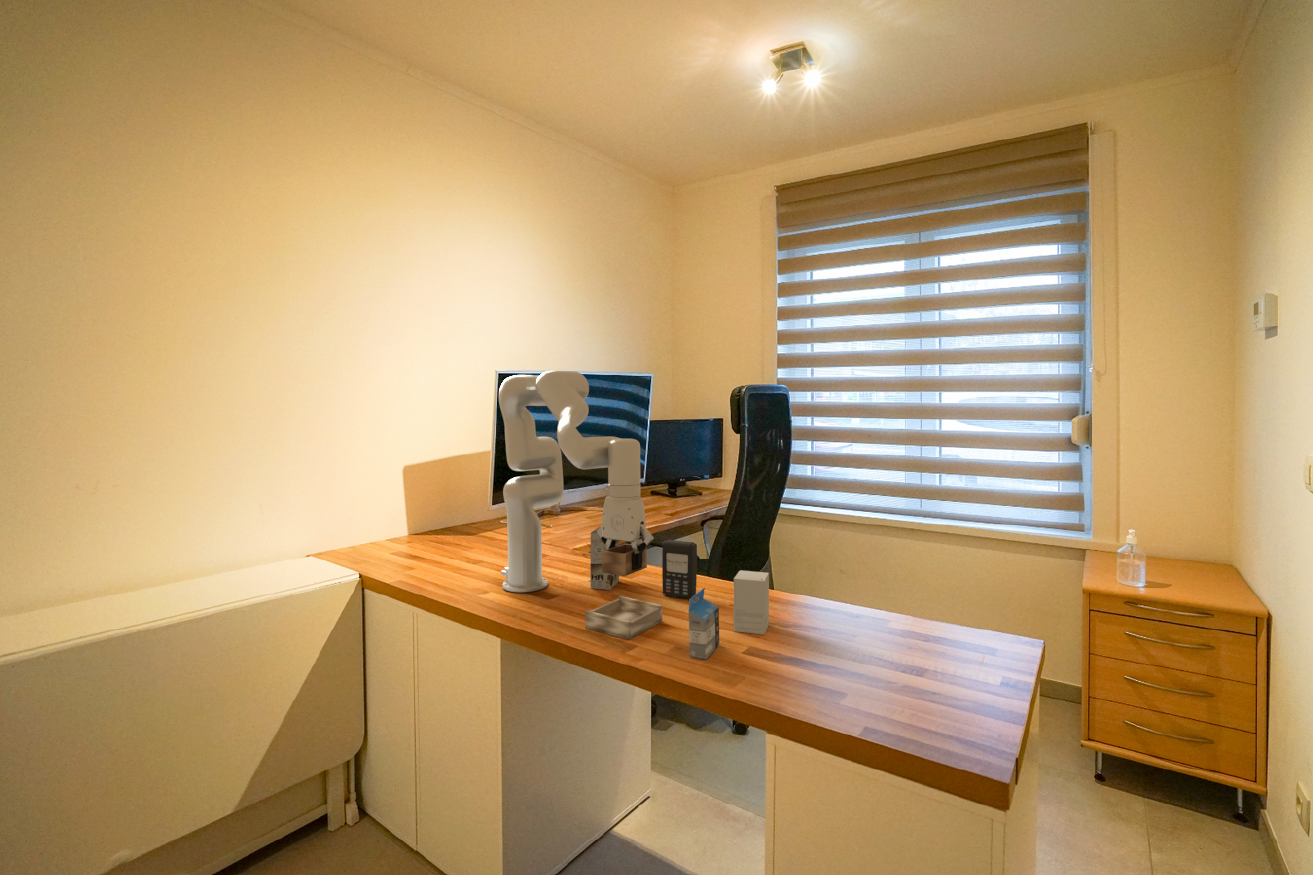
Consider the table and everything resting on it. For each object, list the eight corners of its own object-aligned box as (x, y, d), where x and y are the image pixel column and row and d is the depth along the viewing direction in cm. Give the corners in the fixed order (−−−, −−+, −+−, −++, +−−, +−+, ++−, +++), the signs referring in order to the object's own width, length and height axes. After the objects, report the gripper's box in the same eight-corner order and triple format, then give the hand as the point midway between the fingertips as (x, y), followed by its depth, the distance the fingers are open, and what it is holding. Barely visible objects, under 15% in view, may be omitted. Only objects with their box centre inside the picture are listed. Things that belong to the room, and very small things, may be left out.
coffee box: (611, 590, 169) (611, 533, 168) (589, 588, 171) (589, 532, 170) (620, 580, 178) (620, 526, 177) (599, 579, 180) (599, 525, 179)
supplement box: (769, 624, 144) (770, 572, 143) (764, 635, 137) (765, 581, 136) (739, 620, 147) (739, 569, 146) (732, 631, 140) (733, 577, 139)
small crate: (602, 572, 141) (602, 550, 140) (625, 563, 148) (625, 543, 148) (624, 576, 137) (624, 554, 137) (646, 567, 145) (646, 546, 144)
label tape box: (706, 660, 124) (706, 601, 123) (687, 657, 126) (688, 599, 125) (720, 644, 132) (720, 589, 131) (702, 641, 134) (702, 587, 133)
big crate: (585, 627, 141) (585, 611, 141) (620, 610, 153) (620, 595, 152) (628, 639, 134) (628, 622, 134) (662, 621, 146) (662, 605, 146)
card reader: (660, 596, 164) (660, 541, 163) (666, 591, 168) (666, 538, 167) (692, 600, 161) (692, 545, 160) (697, 596, 164) (697, 541, 163)
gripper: (585, 490, 143) (586, 565, 144) (645, 496, 134) (646, 576, 135) (605, 486, 149) (605, 558, 150) (664, 492, 140) (664, 568, 141)
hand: (624, 566), depth 143 cm, fingers closed on small crate, 6 cm apart
